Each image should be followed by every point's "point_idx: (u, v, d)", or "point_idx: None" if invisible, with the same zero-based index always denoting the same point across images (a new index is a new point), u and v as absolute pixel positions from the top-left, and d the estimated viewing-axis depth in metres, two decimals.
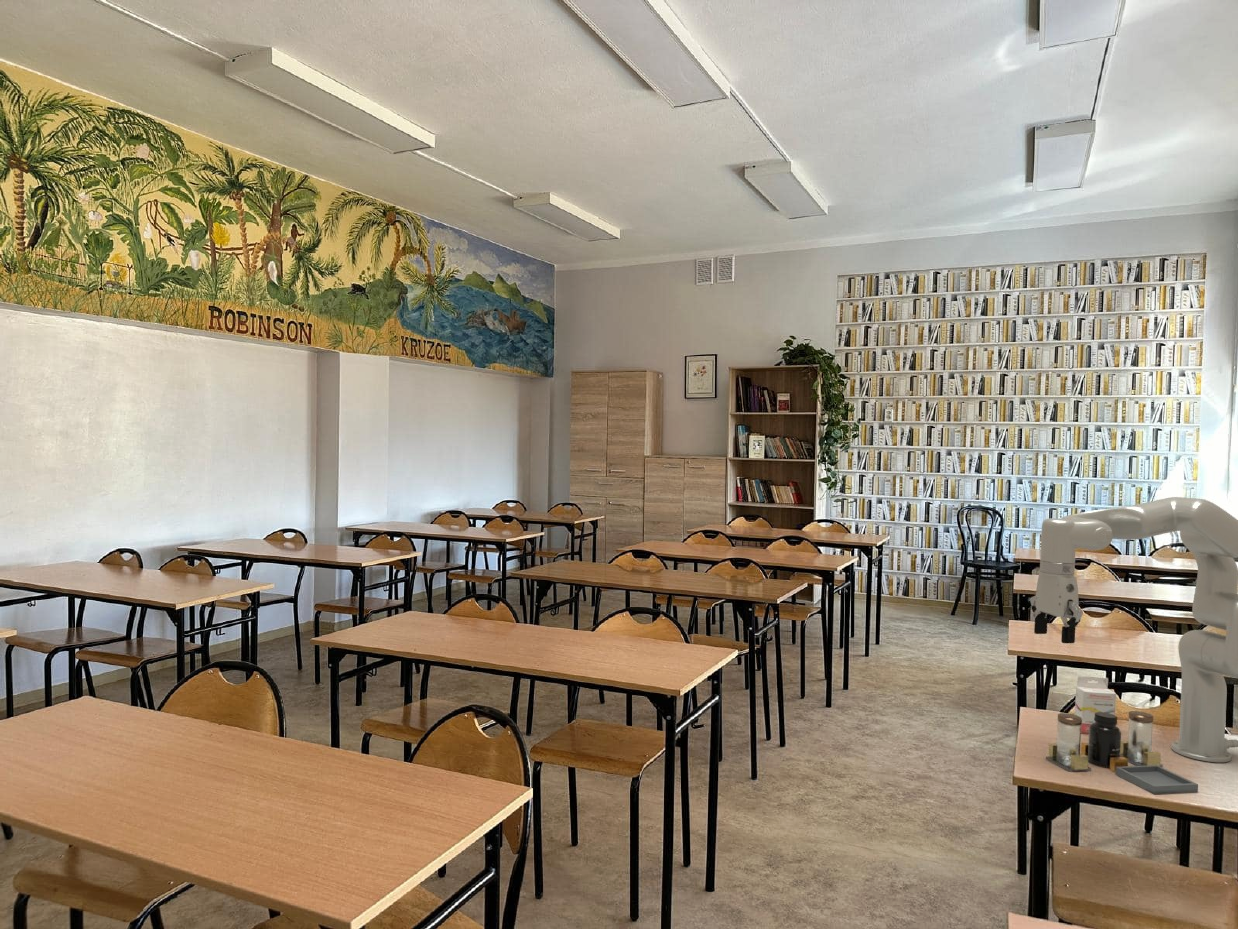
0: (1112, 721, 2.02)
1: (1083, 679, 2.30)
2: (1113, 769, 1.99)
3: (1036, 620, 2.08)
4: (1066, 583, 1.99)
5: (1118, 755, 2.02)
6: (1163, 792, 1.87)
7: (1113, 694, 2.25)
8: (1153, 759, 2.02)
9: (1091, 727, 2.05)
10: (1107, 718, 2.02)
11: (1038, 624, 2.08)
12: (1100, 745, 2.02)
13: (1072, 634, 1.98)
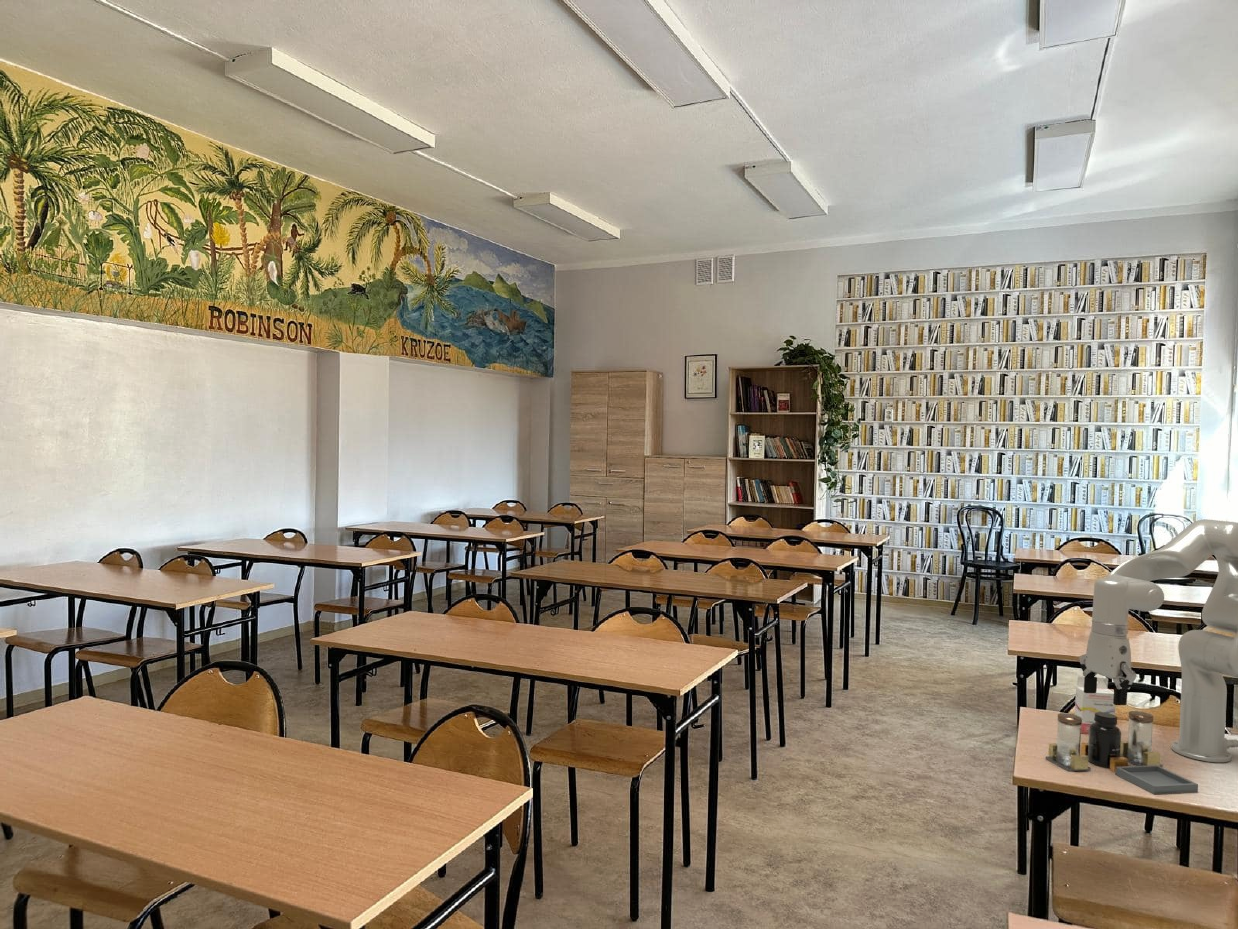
0: (1112, 721, 2.02)
1: (1083, 679, 2.30)
2: (1113, 769, 1.99)
3: (1086, 679, 2.08)
4: (1119, 645, 1.99)
5: (1118, 755, 2.02)
6: (1163, 792, 1.87)
7: (1113, 694, 2.25)
8: (1153, 759, 2.02)
9: (1091, 727, 2.05)
10: (1107, 718, 2.02)
11: (1088, 683, 2.08)
12: (1100, 745, 2.02)
13: (1124, 696, 1.98)
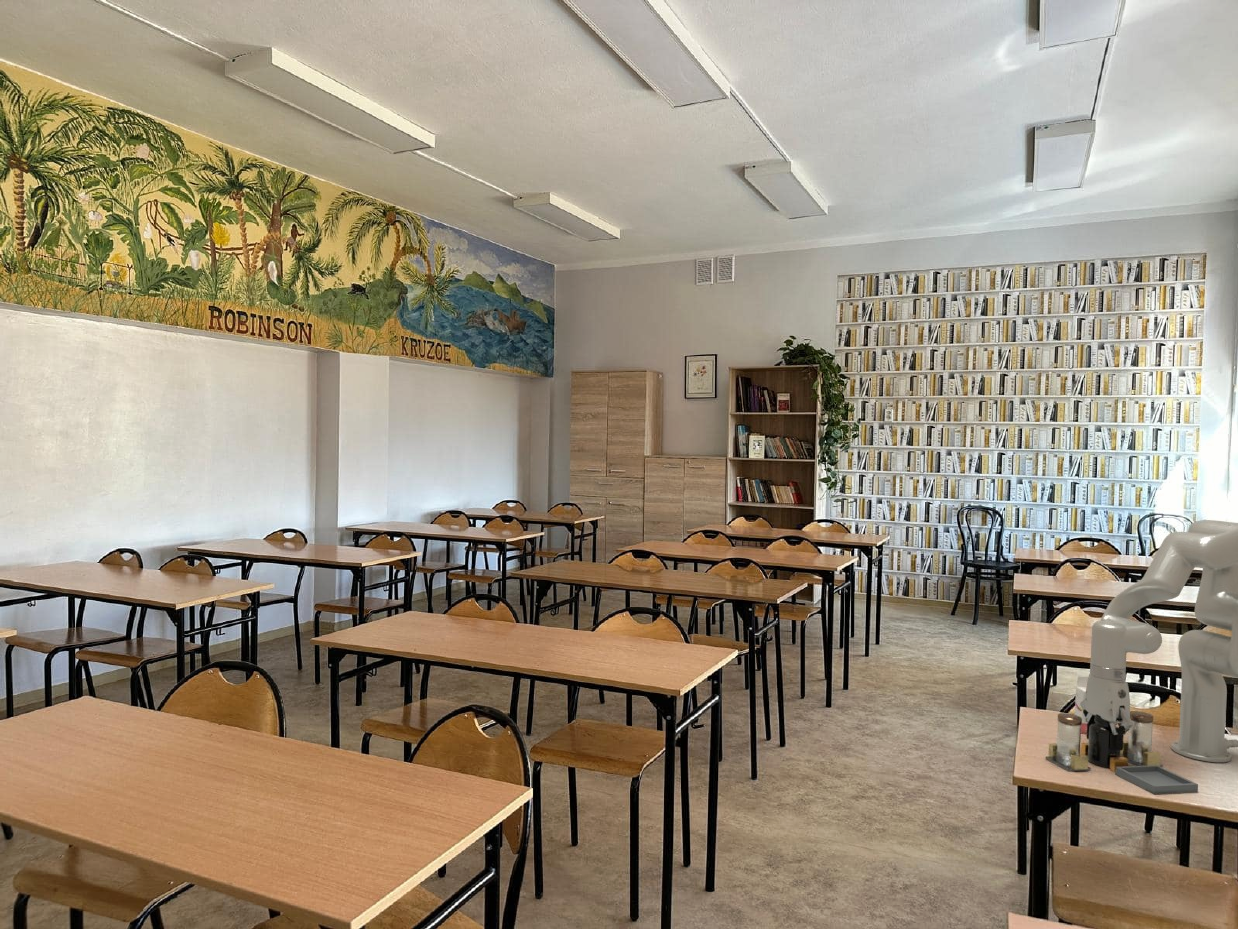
0: None
1: (1083, 679, 2.30)
2: (1113, 769, 1.99)
3: (1088, 726, 2.08)
4: (1118, 689, 1.99)
5: (1118, 755, 2.02)
6: (1163, 792, 1.87)
7: None
8: (1153, 759, 2.02)
9: (1091, 727, 2.05)
10: None
11: None
12: (1100, 745, 2.02)
13: (1120, 742, 2.00)
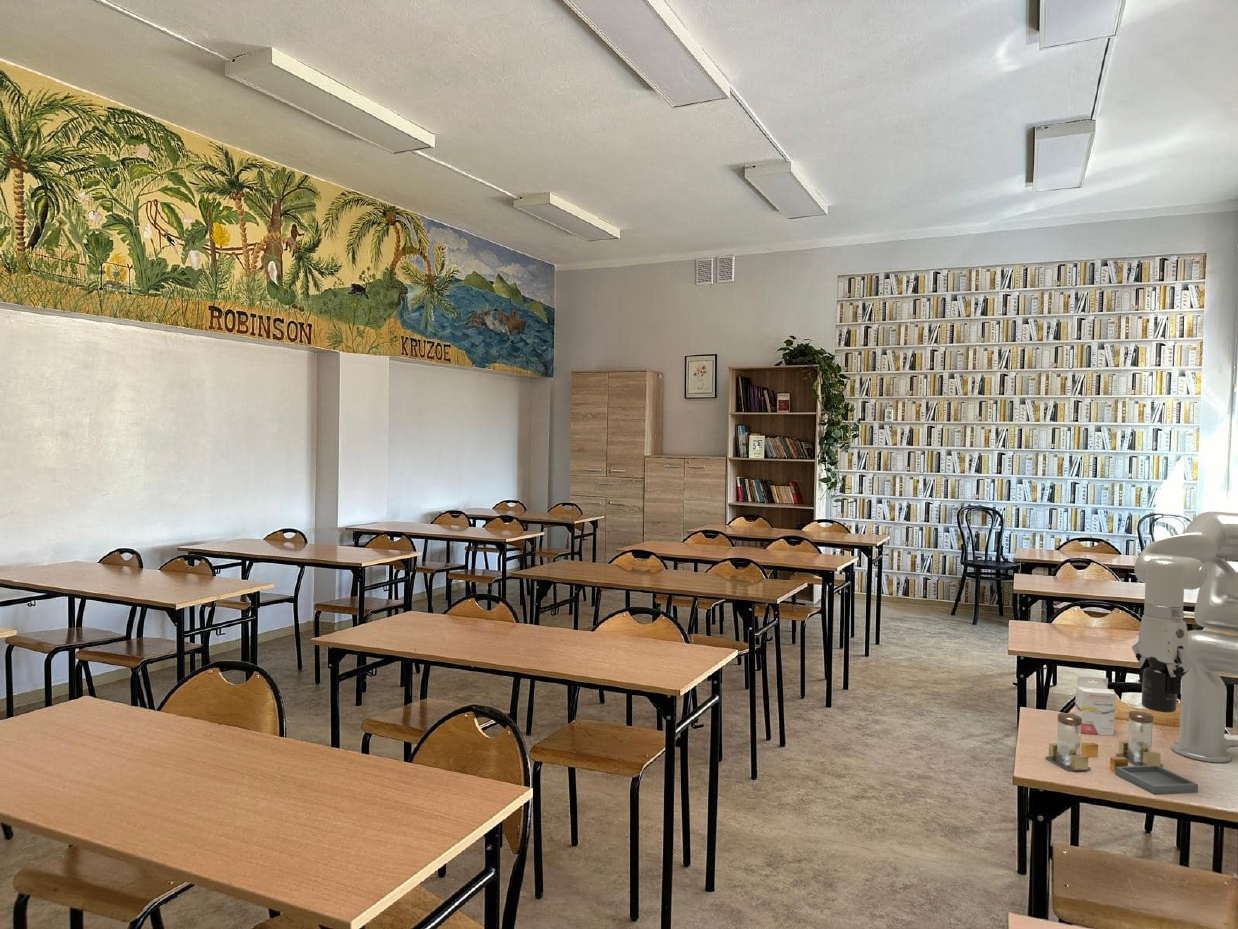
0: None
1: (1083, 679, 2.30)
2: (1113, 769, 1.99)
3: (1142, 670, 1.95)
4: (1176, 628, 1.87)
5: (1175, 699, 1.90)
6: (1163, 792, 1.87)
7: (1113, 694, 2.25)
8: (1153, 759, 2.02)
9: (1145, 670, 1.93)
10: None
11: None
12: (1155, 688, 1.90)
13: (1178, 684, 1.88)
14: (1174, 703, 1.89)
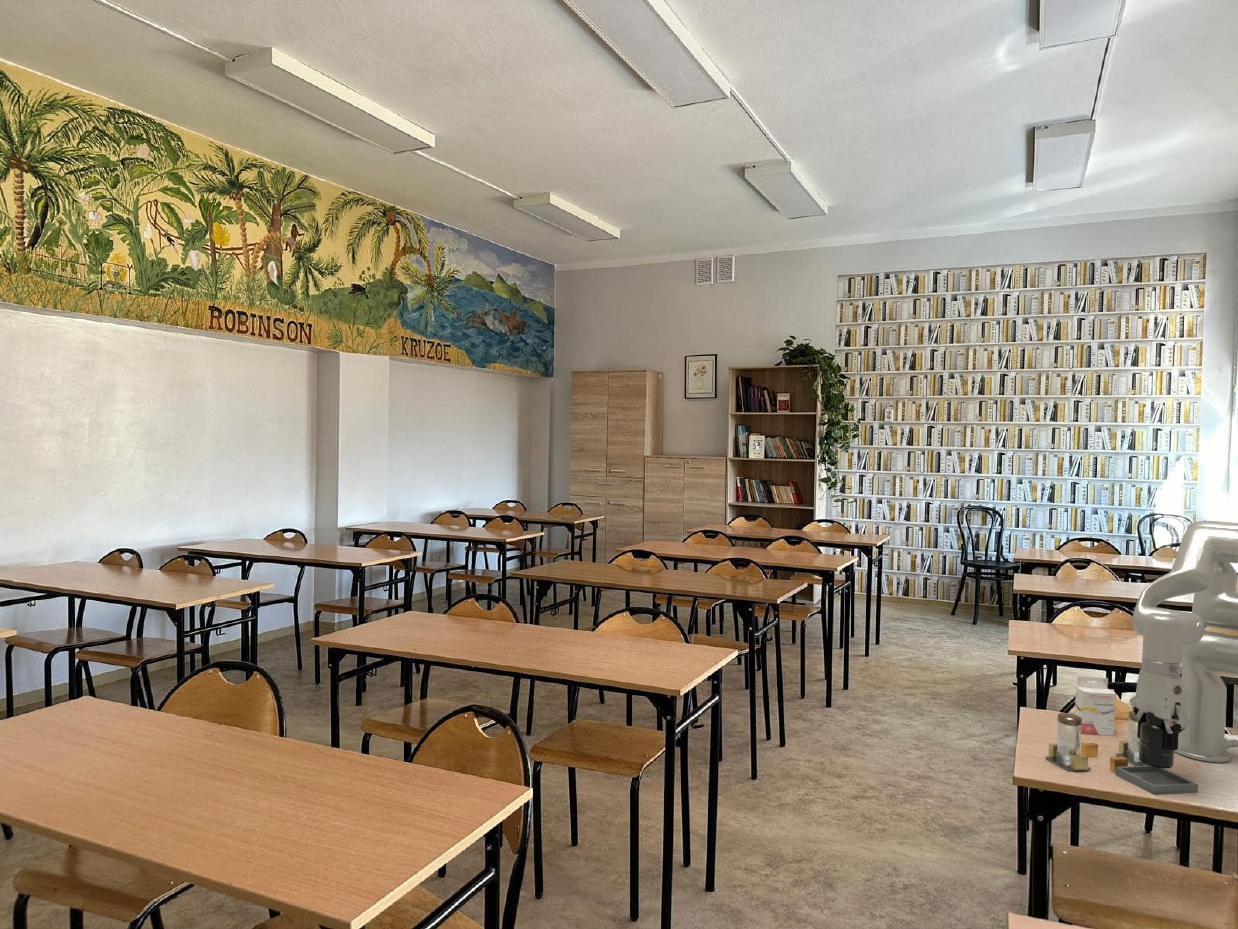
0: None
1: (1083, 679, 2.30)
2: (1113, 769, 1.99)
3: (1140, 724, 1.96)
4: (1173, 685, 1.88)
5: (1172, 755, 1.90)
6: (1163, 792, 1.87)
7: (1113, 694, 2.25)
8: None
9: (1143, 725, 1.93)
10: None
11: None
12: (1152, 744, 1.90)
13: (1176, 741, 1.88)
14: (1171, 759, 1.89)
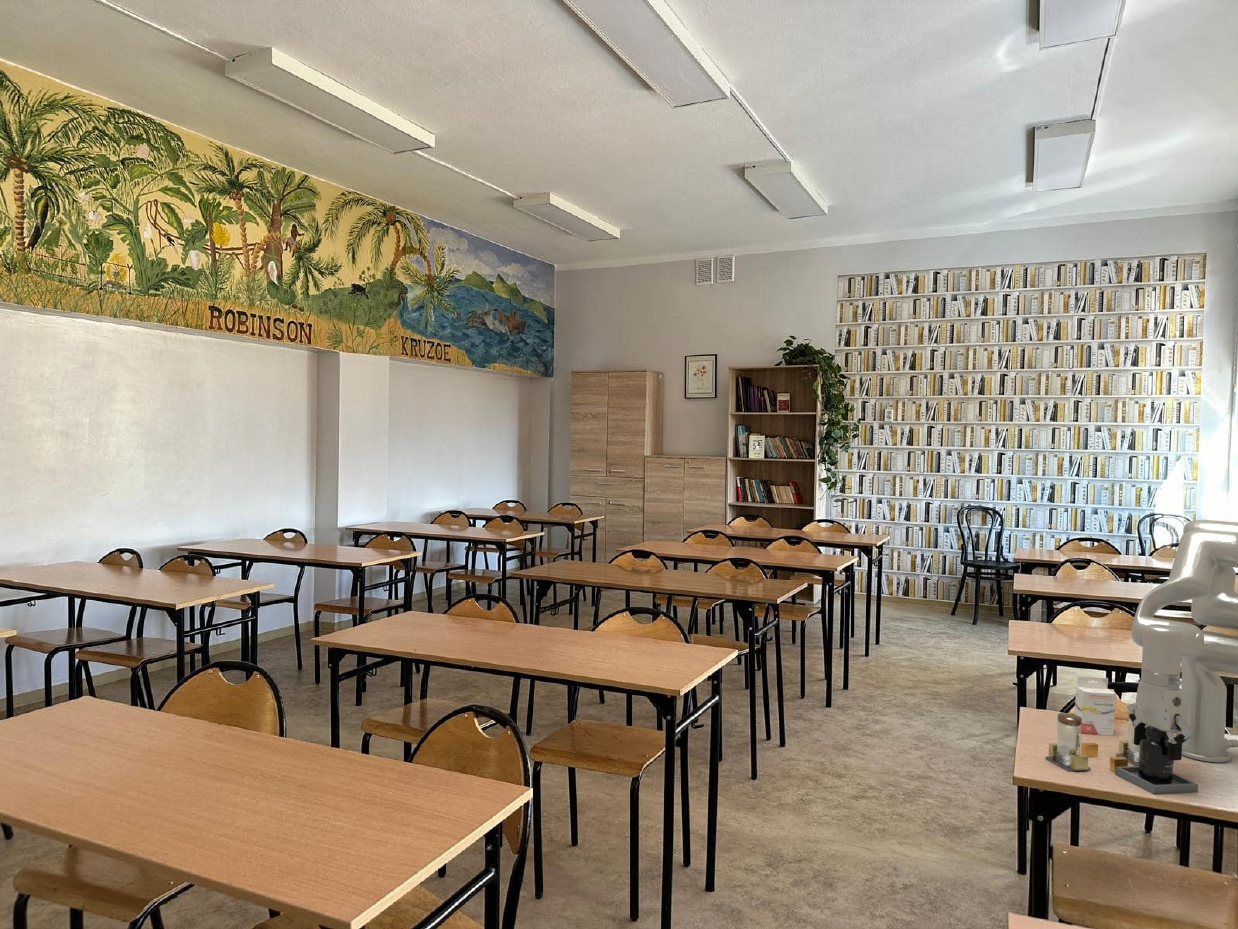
0: (1165, 736, 1.90)
1: (1083, 679, 2.30)
2: (1113, 769, 1.99)
3: (1136, 731, 1.97)
4: (1172, 696, 1.88)
5: (1171, 772, 1.90)
6: (1163, 792, 1.87)
7: (1113, 694, 2.25)
8: None
9: (1142, 742, 1.93)
10: (1160, 732, 1.91)
11: (1138, 735, 1.97)
12: (1152, 761, 1.91)
13: (1179, 751, 1.87)
14: (1170, 776, 1.90)
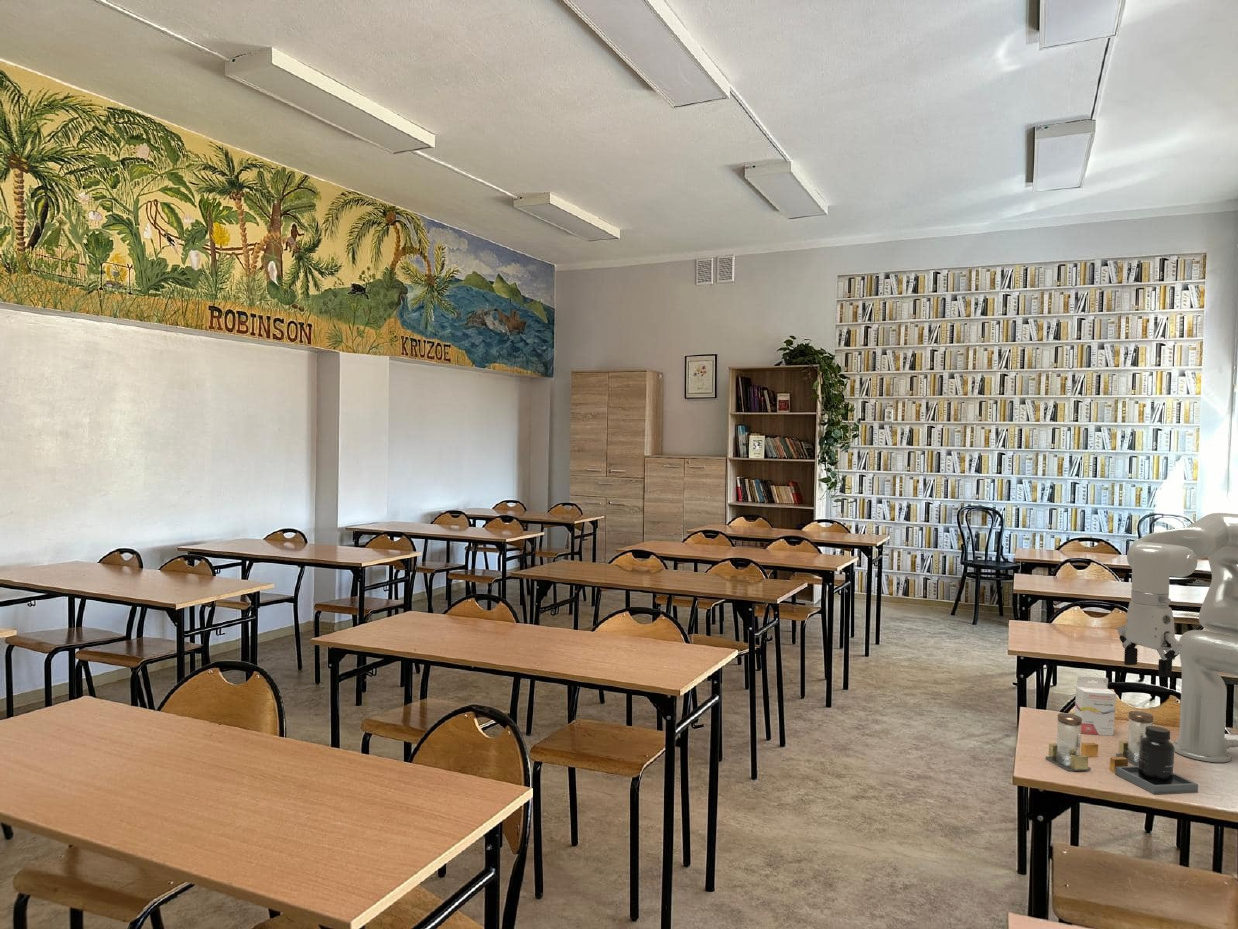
0: (1165, 736, 1.90)
1: (1083, 679, 2.30)
2: (1113, 769, 1.99)
3: (1126, 651, 2.02)
4: (1162, 614, 1.92)
5: (1171, 772, 1.90)
6: (1163, 792, 1.87)
7: (1113, 694, 2.25)
8: None
9: (1142, 742, 1.93)
10: (1160, 732, 1.91)
11: (1128, 655, 2.02)
12: (1152, 761, 1.91)
13: (1170, 667, 1.92)
14: (1170, 776, 1.90)
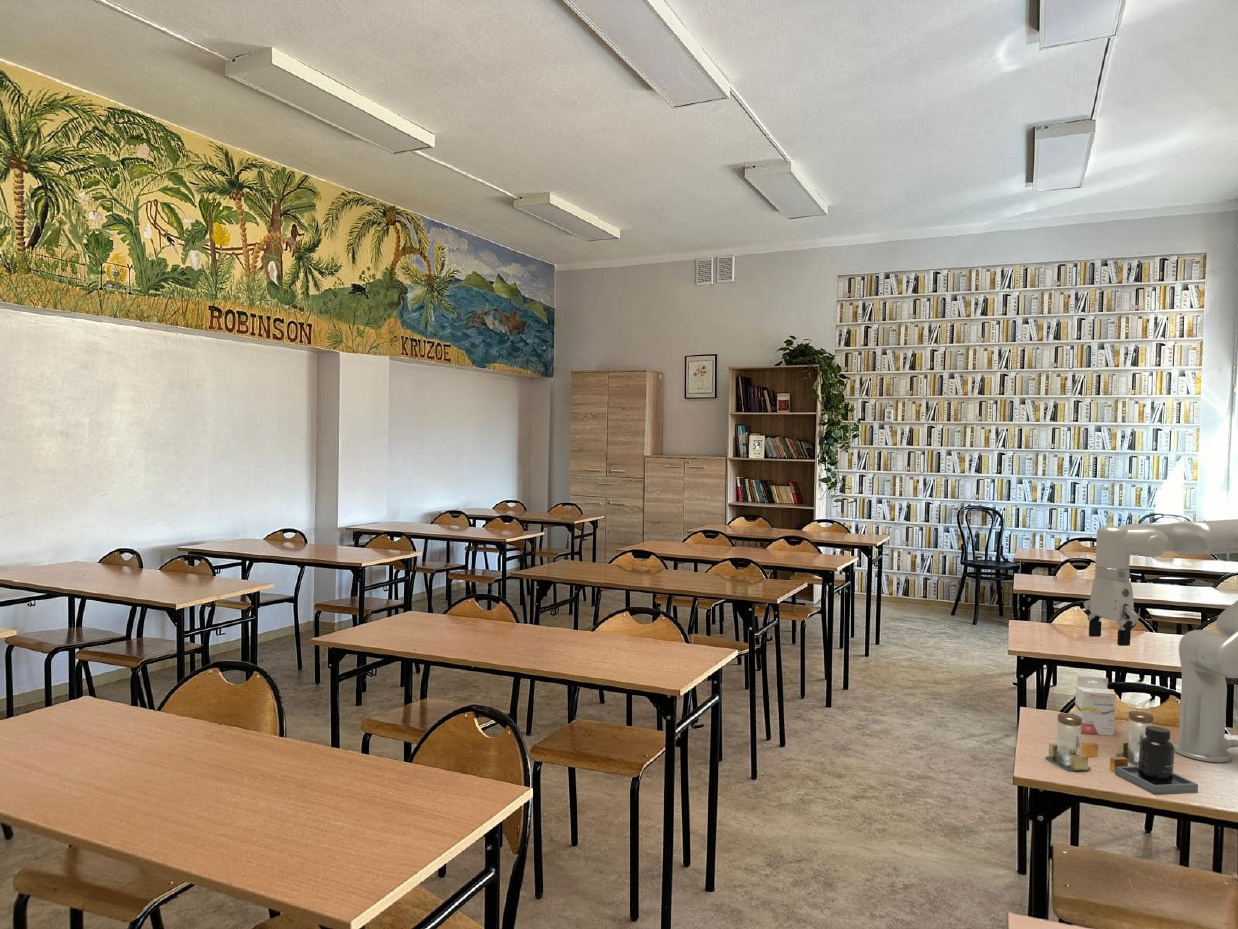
0: (1165, 736, 1.90)
1: (1083, 679, 2.30)
2: (1113, 769, 1.99)
3: (1091, 623, 2.17)
4: (1122, 588, 2.08)
5: (1171, 772, 1.90)
6: (1163, 792, 1.87)
7: (1113, 694, 2.25)
8: None
9: (1142, 742, 1.93)
10: (1160, 732, 1.91)
11: (1092, 627, 2.17)
12: (1152, 761, 1.91)
13: (1128, 637, 2.07)
14: (1170, 776, 1.90)
